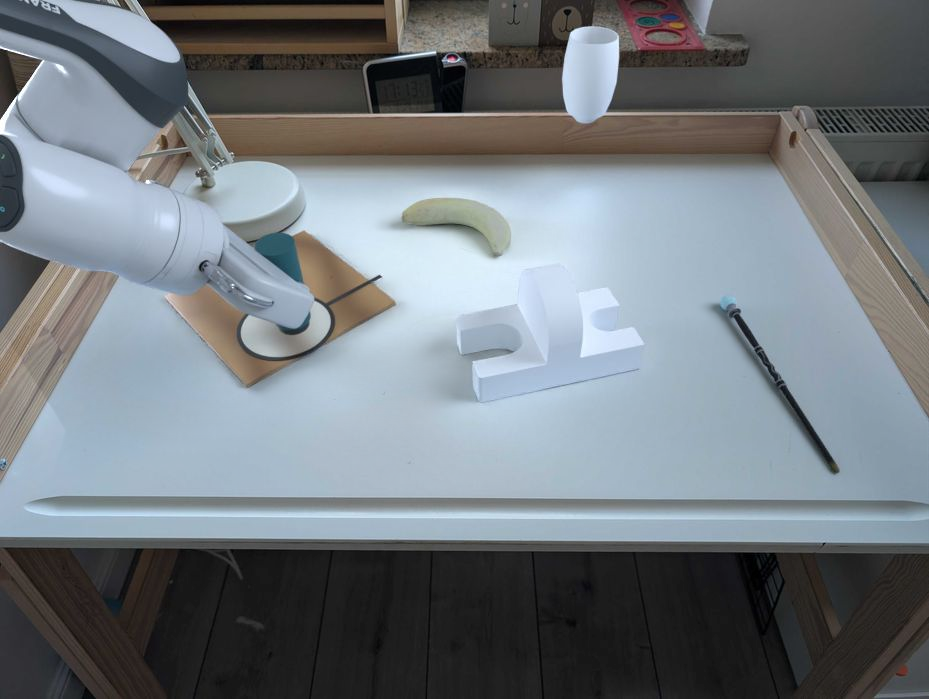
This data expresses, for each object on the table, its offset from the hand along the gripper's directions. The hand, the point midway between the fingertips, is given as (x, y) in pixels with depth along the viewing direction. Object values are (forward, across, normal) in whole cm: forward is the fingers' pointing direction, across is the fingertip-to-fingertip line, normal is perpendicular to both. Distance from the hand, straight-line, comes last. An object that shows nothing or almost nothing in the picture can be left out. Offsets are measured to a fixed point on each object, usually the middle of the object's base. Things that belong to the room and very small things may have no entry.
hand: (288, 280), depth 76 cm
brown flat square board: (+7, +7, +5) cm, 11 cm away
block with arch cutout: (+19, -21, -6) cm, 29 cm away
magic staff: (+29, -41, -17) cm, 53 cm away
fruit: (+25, +2, -13) cm, 28 cm away
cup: (+40, 0, -28) cm, 49 cm away
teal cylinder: (+4, 0, +5) cm, 6 cm away
